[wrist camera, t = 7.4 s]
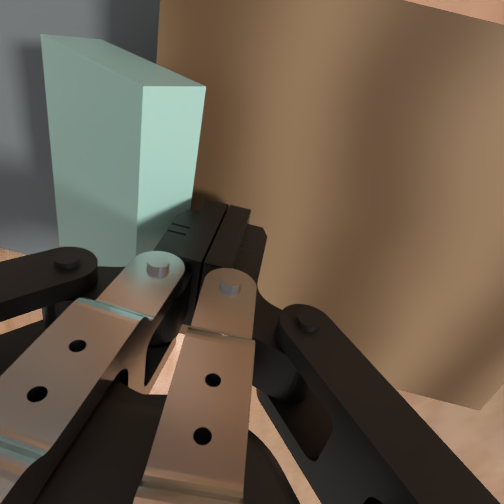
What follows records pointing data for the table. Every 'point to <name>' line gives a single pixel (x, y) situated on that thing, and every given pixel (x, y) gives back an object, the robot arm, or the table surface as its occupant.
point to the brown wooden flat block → (362, 170)
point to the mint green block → (118, 146)
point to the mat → (35, 106)
